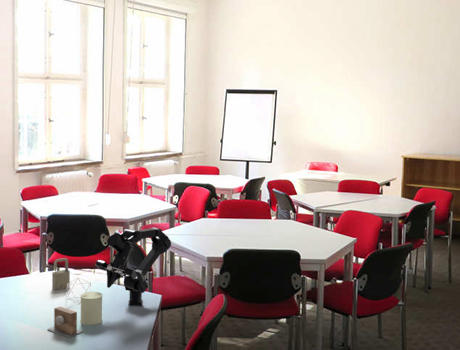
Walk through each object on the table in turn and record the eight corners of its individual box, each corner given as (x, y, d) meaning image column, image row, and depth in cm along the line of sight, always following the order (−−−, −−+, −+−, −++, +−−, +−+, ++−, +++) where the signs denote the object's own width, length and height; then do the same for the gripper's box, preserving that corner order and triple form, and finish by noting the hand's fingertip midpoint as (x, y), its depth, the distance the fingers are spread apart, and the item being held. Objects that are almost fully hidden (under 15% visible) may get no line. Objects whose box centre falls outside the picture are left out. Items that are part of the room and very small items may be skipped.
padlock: (51, 288, 292) (51, 259, 290) (66, 285, 297) (66, 256, 295) (55, 290, 289) (55, 260, 287) (70, 287, 294) (70, 258, 292)
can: (79, 318, 253) (79, 291, 252) (100, 316, 257) (100, 289, 255) (81, 326, 245) (81, 298, 243) (103, 323, 248) (103, 296, 247)
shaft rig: (62, 324, 246) (62, 303, 245) (83, 331, 239) (84, 310, 238) (47, 330, 239) (47, 309, 238) (69, 338, 232) (69, 316, 231)
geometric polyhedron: (91, 303, 272) (91, 284, 271) (67, 305, 269) (67, 285, 268) (89, 295, 284) (89, 276, 283) (66, 296, 281) (66, 278, 280)
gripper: (146, 266, 267) (132, 298, 260) (111, 256, 272) (97, 287, 266) (138, 258, 257) (124, 291, 251) (102, 247, 263) (87, 279, 257)
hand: (108, 287), depth 256 cm, fingers closed
